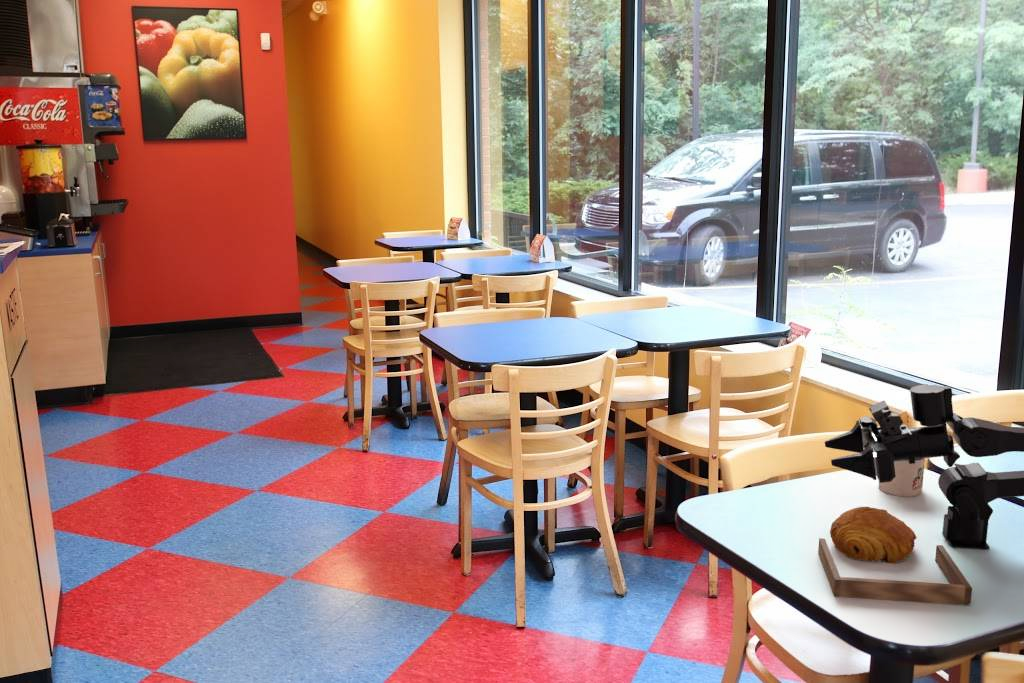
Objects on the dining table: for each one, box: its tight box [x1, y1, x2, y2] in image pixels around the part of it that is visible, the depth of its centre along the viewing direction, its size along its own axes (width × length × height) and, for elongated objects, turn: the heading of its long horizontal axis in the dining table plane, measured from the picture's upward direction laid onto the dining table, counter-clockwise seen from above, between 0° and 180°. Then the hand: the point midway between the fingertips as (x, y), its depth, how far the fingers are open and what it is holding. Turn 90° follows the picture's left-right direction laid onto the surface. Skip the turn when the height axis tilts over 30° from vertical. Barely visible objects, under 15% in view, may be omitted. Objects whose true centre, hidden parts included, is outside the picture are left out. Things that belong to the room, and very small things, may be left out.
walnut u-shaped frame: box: [817, 537, 973, 606], centre depth 153 cm, size 21×16×3 cm
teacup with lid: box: [878, 458, 926, 498], centre depth 192 cm, size 12×9×12 cm
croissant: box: [829, 506, 917, 564], centre depth 164 cm, size 14×16×8 cm
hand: (828, 453), depth 168 cm, fingers open, 9 cm apart
